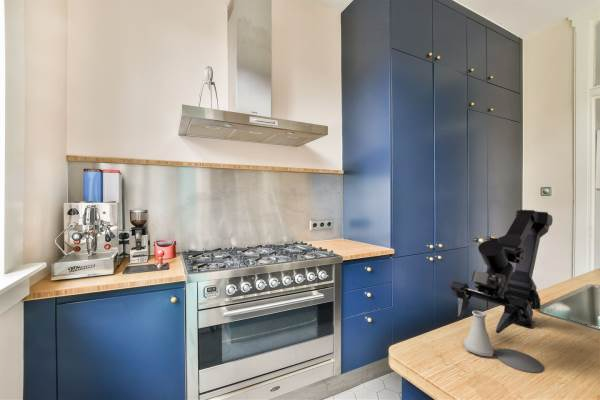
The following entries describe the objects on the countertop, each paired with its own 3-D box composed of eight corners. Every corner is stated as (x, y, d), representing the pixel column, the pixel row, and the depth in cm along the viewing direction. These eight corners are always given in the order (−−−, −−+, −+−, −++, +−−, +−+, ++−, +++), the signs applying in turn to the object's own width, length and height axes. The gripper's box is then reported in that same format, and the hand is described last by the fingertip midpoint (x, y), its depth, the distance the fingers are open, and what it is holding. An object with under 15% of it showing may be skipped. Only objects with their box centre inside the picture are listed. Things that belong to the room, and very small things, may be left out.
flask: (463, 352, 72) (464, 315, 71) (461, 339, 78) (462, 305, 78) (496, 360, 68) (498, 321, 68) (492, 346, 74) (493, 310, 74)
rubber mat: (501, 345, 75) (501, 344, 75) (546, 362, 68) (546, 361, 68) (489, 358, 69) (489, 357, 69) (538, 378, 62) (538, 377, 62)
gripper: (454, 253, 83) (432, 296, 77) (530, 268, 67) (511, 323, 61) (465, 275, 87) (446, 317, 81) (540, 294, 72) (522, 347, 66)
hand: (477, 324), depth 72 cm, fingers open, 9 cm apart
